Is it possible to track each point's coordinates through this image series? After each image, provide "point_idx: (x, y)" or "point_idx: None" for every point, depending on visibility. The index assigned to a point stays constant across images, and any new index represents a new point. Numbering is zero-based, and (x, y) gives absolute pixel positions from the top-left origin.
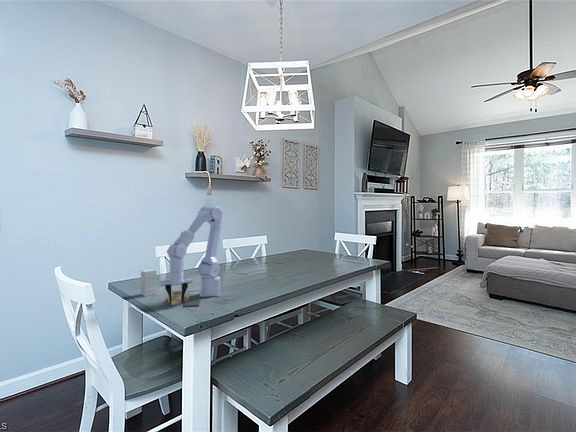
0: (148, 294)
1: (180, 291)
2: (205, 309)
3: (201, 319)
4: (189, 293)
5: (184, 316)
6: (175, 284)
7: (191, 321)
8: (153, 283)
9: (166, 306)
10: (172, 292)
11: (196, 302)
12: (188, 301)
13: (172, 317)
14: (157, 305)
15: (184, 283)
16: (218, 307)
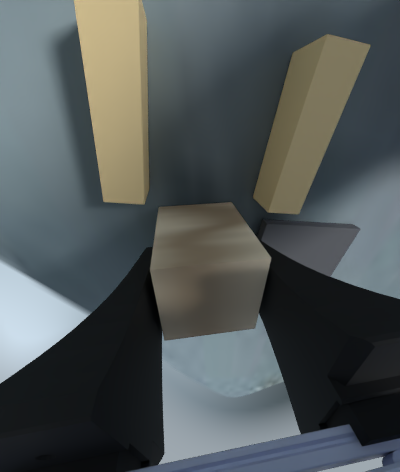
0: None
1: (256, 275)
2: None
3: (279, 375)
4: (358, 71)
5: (233, 363)
6: (220, 469)
7: (250, 383)
8: None
9: None
10: (162, 299)
11: (320, 265)
12: (280, 240)
13: (192, 368)
14: (59, 251)
15: (382, 447)
16: None
